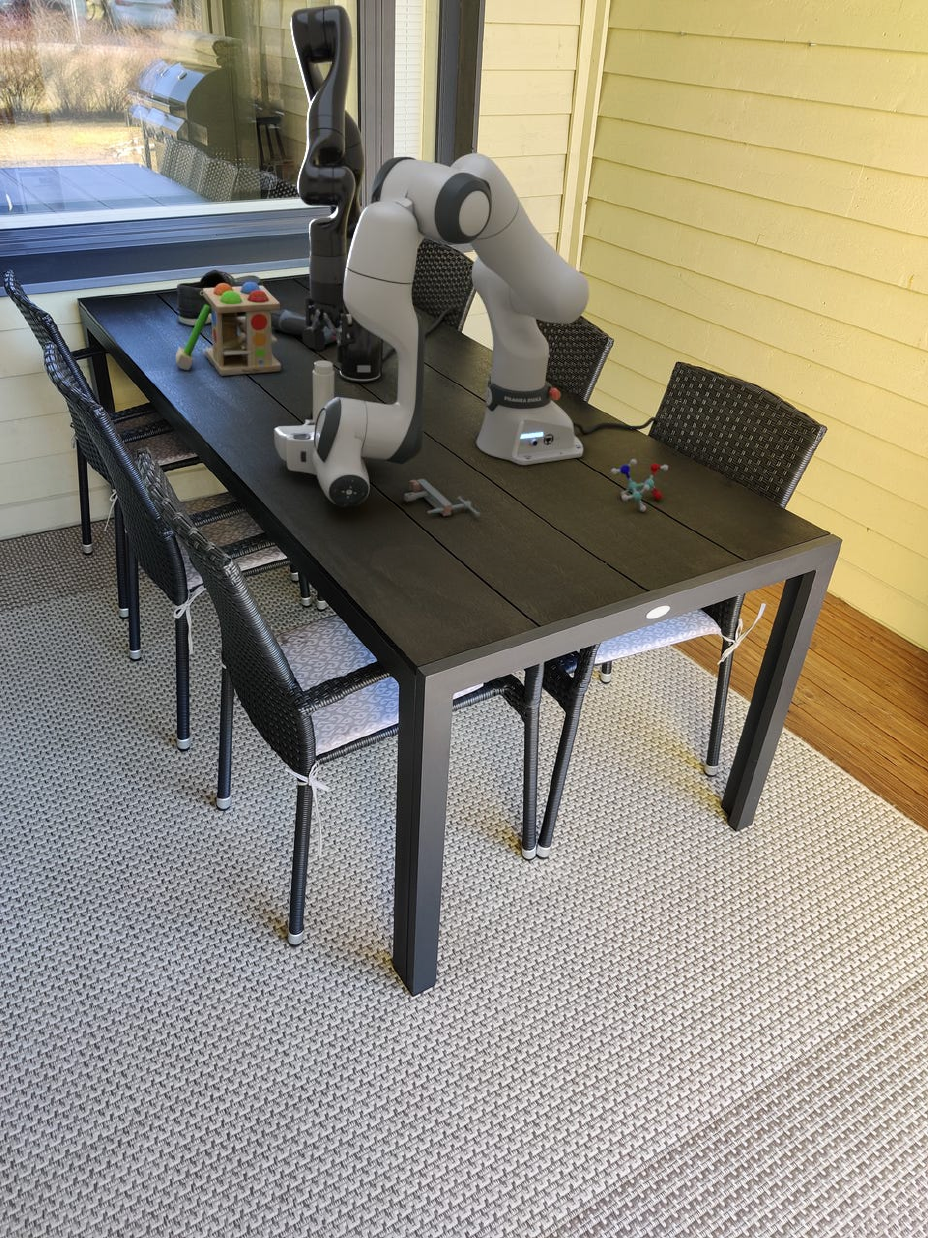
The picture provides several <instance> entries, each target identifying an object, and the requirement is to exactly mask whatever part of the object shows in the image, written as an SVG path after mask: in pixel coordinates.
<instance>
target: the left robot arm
mask: <svg viewBox="0 0 928 1238" xmlns="http://www.w3.org/2000/svg"><path fill="white" fill-rule="evenodd" d="M290 30H291V36H292V37H291V38H292V42H293V47H294V50H295V51H294V52H295V56H296V58H297V62H298V65H299V70H300V73H301V77H302V81H303V84H304V88H305V92H306V95H307V100H308V104H309V107H308V111H307V115H306V116H307V120H306V149H305V150H306V151H305V154H304V159H303V162H302V164H301V168H300V171H299V174H298V178H297V185H296V186H297V187H296V188H297V193H298V196H299V198H300V200H301V202H302V203H304V205H307V206H309V207H310V206H311V207H329V209H330V210H329V211H330V215H325V216H321V217H317V218H314V219H312V220H311V221H310V222H309V225H308V232H309V233H308V235H309V239H308V240H309V260H308V267H309V268H308V271H309V273H308V274H309V296H307V297H305V317H306V325H307V326H310V327H311V331H312V332H313V344H314V348H313V350H315V351H321V350H324V349H325V345H324V331H322V330H323V329H324V327H325V326H326V327H327V328H328V329H330V331H331V334H332V335H333V336H335V338H336V341H335V342H336V343H337V344H336V357H337V358H336V359H337V360H336V361H337V363H339V364H340V370H339V376H340V377H341V378H342V380H345V381H348V382H352V383H359V384H360V383H361V384H364V383H365V384H366V383H367V384H369V383H373V382H376V381H378V380H380V378H381V375H382V374H383V362H384V361H385V360H387V358H388V356H390V354H392V353H393V352H396V350H395V349H394V348H393V347H391V348H390V349H388V350H387V351H386V352H385V353H384V340H383V339H381V338H380V337H378V336H376V335H375V334H373V333H372V332H370V331H368V330H367V329H365V328H364V327H363V326H361V325H360V324H359V323H358V322H357V321H356V320H355V319H354V318H353V317H352V316H351V314H350V313H349V311H348V310H347V308H346V305H345V303H344V299H343V287H344V277H345V271H346V265H347V260H348V255H349V251H350V247H351V243H352V239H353V236H354V233H355V230H356V227H357V224H358V221H359V218H360V216H361V214H362V210H361V205H360V192H361V188H362V186H363V185H362V184H363V181H364V177H365V171H366V157H365V151H364V145H363V140H362V139H363V138H362V134H361V131H360V128H359V126H358V124H357V122H356V121H355V119H354V118H353V117H352V116H351V114H350V113H349V112H348V111H347V109H346V102H347V97H348V96H347V94H348V90H349V89H348V88H349V82H350V76H351V75H350V74H351V67H352V66H351V65H352V58H353V47H354V46H353V45H354V44H353V43H354V41H353V30H352V24H351V19H350V16H349V14H348V12H347V9H346V8H345V7H344V6H343V5H340V4H330V5H328V4H327V5H320V6H313V7H306V8H299V9H295V10H294V11H293V12H292V14H291V17H290ZM326 63H331V64H330V67H329V69H328V71H327V74H326V77H325V78H324V76H323V74H322V72H321V69H320V67H319V64H326ZM453 307H454V306H450V307H448V308H447V309H446V310H445V311H443V312H442V313H441V314H440V316H439V317H438V318H437V320H436V321H435V323H434V324H432V326H430V327H429V328H428V329H427V330H425V331H424V334H425V337H426V336H428V335H429V334H431V333H432V332H433V331H434V330H435V329H436V328H437V327H438V326H439V324H440V323H441V322H442V320H443V318H444V317H445V316H446V315H447V314H449V313H450V312H451V311H453V312H458V309H457V307H456V308H455V309H453ZM312 316H313V317H312ZM340 325H341V329H336V328H339V327H340ZM340 334H341V337H340ZM383 353H384V354H383Z"/></svg>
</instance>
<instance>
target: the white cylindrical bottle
mask: <svg viewBox="0 0 928 1238" xmlns="http://www.w3.org/2000/svg"><path fill="white" fill-rule="evenodd" d="M335 375H336V374H335V370H334V364H333V362H332V361H329V360H323V359H322V360H317V361H315V362H314V368H313V370H312V410H313V422H314V425H316V420H317V417H318V414H319V412H320V410H321V409H322V408H323V407H324V406H325V405H326V404H327V403H328V402H329V401H331V400H332V399H334V398H335Z"/></svg>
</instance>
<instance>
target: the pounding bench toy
mask: <svg viewBox="0 0 928 1238" xmlns="http://www.w3.org/2000/svg"><path fill="white" fill-rule="evenodd" d="M203 296H204V297H205V299H206V300H207V301H208V302H209V304H210V305H211V307H210V306H208V305H204V307H203V309H202V311H201V314H200V316H199V318H198V320H197V322H196V324H195V325H194V327H193V329H192V331H191V332H190V333H191V334H190V336H189V338H188V340H187V343H186V344H185V347H184V348H182V347H180V346H179V347H178V349H177V351H176V354H175V357H174V358H175V362H176V365H177V366H178V368H179V369H182V370H185V371H189V370H190V369H191V367H192V365H193V363H194V356H193V351H194V348H195V347H196V345H197V342H198V340H199V337H200V336H201V333H202V332H203V329H204V326H205V325H206V324H205V322H206V320H207V318H209V320H210V321H211V322H210V323H211V336H212V337H211V338H212V339H211V340H212V348H205V349H204V352H205V353H204V355H205V357H206V359H208V361H209V363H210V364H211V365H212V366H213V367H214V369H215V370H216V371H217V372H218V374H219V375H220V376H222V377H223V376H234V375H235V376H236V375H246V374H247V375H250V374H262V373H275V372H281V370H282V364H281V363H280V362H279V360H278V359H277V358H276V357H275V356H274V355H273V348H272V347H273V345H272V344H276V343H278V342H279V341H278V339H277V338H276V337H275V336H274V334H272V327H271V310H280V309H281V304H280V301H278V300H277V299H276V297H274V296H273V295H272V294H271V293H270V292H269V290H268V289H267V288H266V287H265V286H264V287H263V286H258V285H257V284H256V283H254V282H247V283H245V284H244V285H243V286H242V287H231V286H230V285H228V284H226V283H221V284H218V285H217V286H216V287H215V288H204V289H203ZM210 310H211V314H209V312H210ZM238 313H244V314H245V315H244V316H238ZM238 329H239V331H240V333H239V334H238Z"/></svg>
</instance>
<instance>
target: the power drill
mask: <svg viewBox="0 0 928 1238" xmlns="http://www.w3.org/2000/svg"><path fill="white" fill-rule="evenodd" d="M271 328H274V329H276V330H278V331H281V332H284V333H288V334H290V335H296V336H300V337H302V341H303V343H304V344H305V346H306V347H308V348H309V349H314V344H313V332H312V331H311V327H310V326H307V325H306V316H304V315H302V314H300V313H297V312H293V311H291V310H288V309H283V308H280V310H271ZM336 329H341V325H340V327H339V328H336ZM322 331H324V346H325V345H328V344H330V343H333V342H337V341H336V338H335V336H333V335H332V334H331V331H330V329H328V328H327V327H326V326H325V327H324V329H323V330H322ZM340 337H341V334H340Z"/></svg>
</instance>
